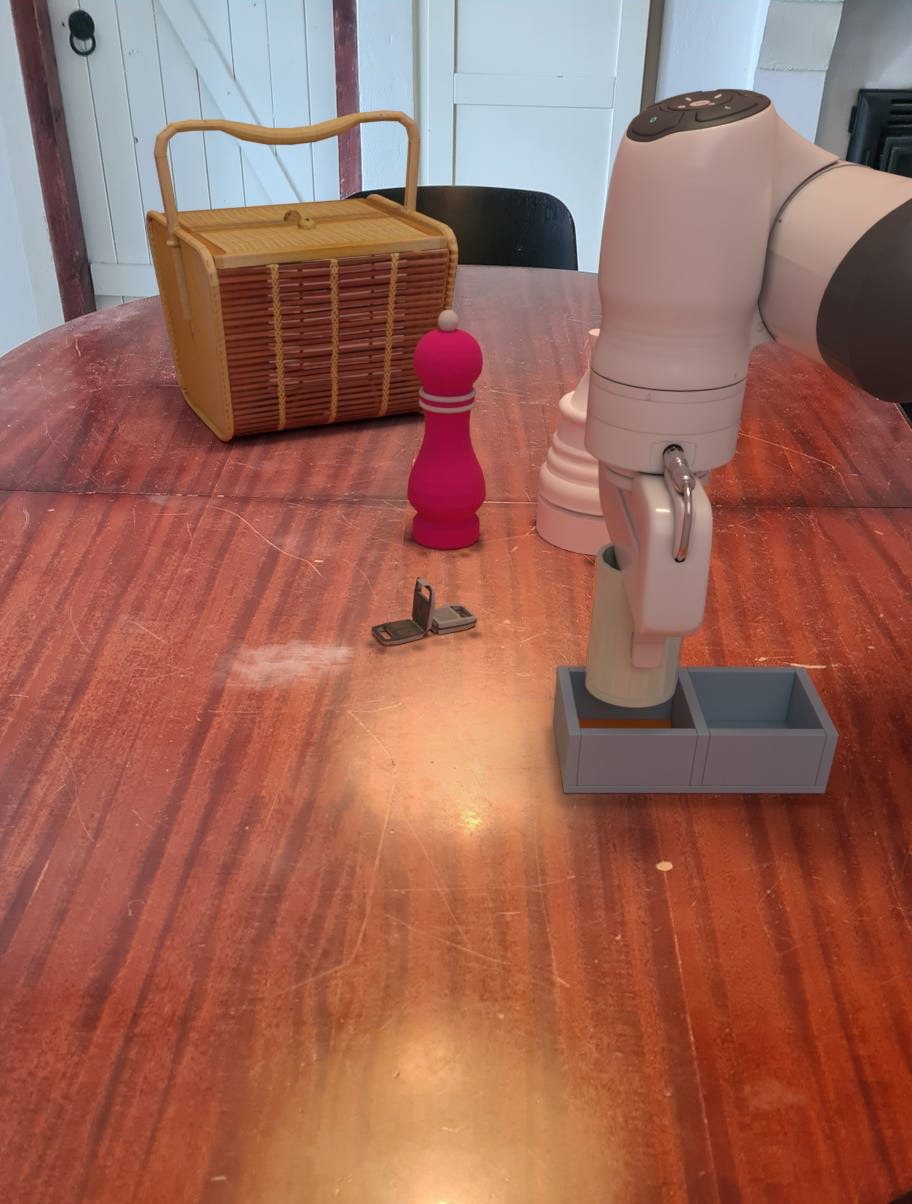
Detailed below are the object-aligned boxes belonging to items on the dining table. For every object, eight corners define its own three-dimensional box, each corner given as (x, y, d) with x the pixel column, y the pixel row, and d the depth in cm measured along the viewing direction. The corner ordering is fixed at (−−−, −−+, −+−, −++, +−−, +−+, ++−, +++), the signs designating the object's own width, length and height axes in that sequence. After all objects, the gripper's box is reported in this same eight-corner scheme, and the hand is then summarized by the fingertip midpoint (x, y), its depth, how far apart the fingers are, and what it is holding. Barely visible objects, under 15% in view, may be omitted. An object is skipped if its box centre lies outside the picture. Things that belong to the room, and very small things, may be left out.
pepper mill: (476, 519, 119) (481, 298, 107) (491, 549, 113) (499, 319, 101) (402, 524, 118) (399, 301, 106) (414, 554, 112) (413, 322, 100)
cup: (667, 663, 85) (685, 538, 79) (682, 708, 80) (701, 578, 74) (580, 662, 84) (591, 538, 79) (589, 707, 80) (602, 578, 74)
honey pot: (591, 567, 110) (609, 358, 99) (509, 519, 119) (517, 322, 108) (699, 537, 116) (728, 336, 105) (613, 494, 124) (632, 304, 114)
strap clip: (463, 612, 103) (464, 564, 101) (479, 627, 101) (481, 578, 98) (369, 632, 100) (367, 583, 98) (384, 648, 98) (383, 598, 96)
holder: (792, 722, 89) (804, 666, 86) (825, 794, 82) (839, 734, 79) (552, 722, 89) (556, 665, 86) (563, 793, 82) (568, 734, 79)
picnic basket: (216, 462, 131) (184, 138, 113) (156, 393, 150) (120, 106, 132) (465, 427, 141) (472, 123, 122) (379, 366, 159) (374, 95, 141)
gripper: (754, 486, 63) (714, 718, 72) (687, 369, 80) (661, 570, 88) (631, 485, 63) (606, 717, 72) (589, 369, 80) (573, 569, 88)
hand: (636, 635), depth 80 cm, fingers closed on cup, 6 cm apart
